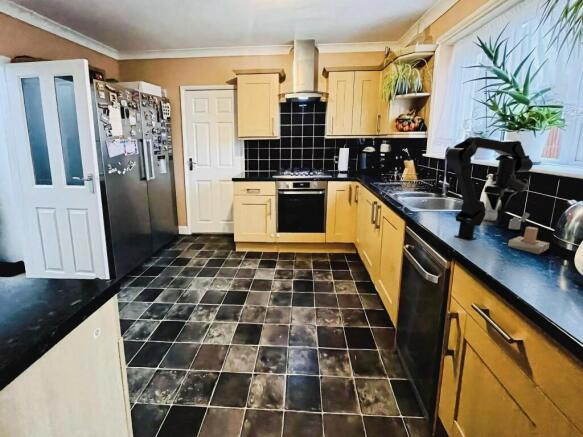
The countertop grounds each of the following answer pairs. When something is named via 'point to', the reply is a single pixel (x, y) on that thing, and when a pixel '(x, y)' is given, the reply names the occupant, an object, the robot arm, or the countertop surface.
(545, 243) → the socket block
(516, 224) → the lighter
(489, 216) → the plastic bottle
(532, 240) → the peg
